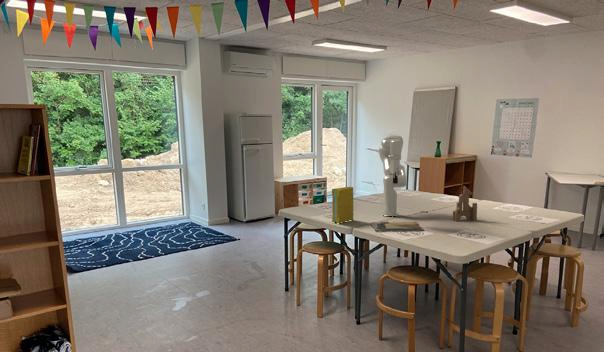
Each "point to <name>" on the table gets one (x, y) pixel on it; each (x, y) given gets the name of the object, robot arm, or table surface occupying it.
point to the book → (342, 204)
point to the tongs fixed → (399, 226)
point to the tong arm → (393, 222)
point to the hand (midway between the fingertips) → (395, 183)
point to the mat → (394, 229)
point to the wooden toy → (465, 207)
